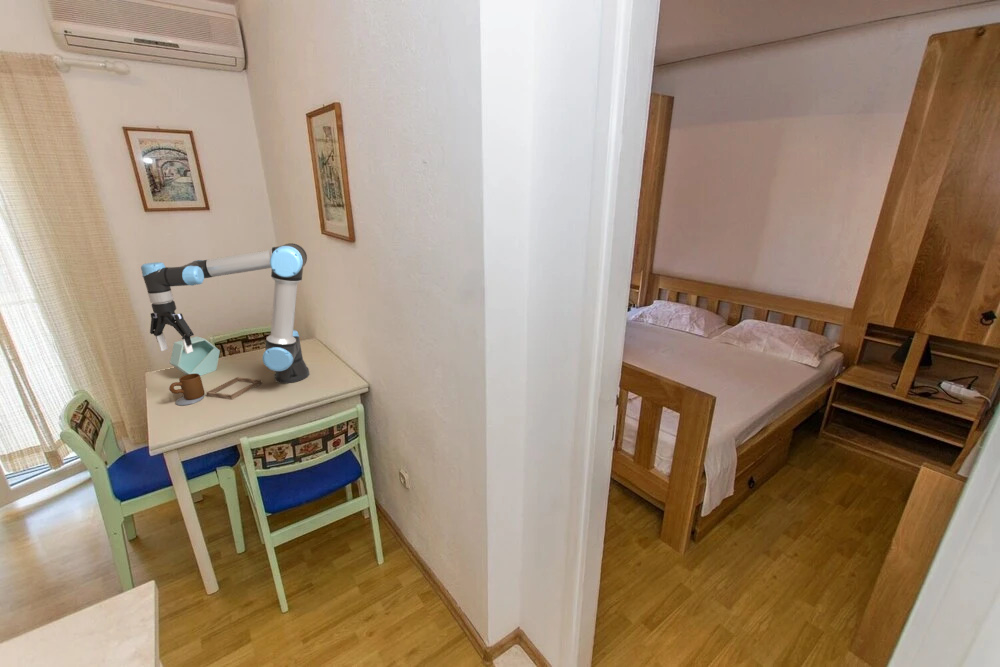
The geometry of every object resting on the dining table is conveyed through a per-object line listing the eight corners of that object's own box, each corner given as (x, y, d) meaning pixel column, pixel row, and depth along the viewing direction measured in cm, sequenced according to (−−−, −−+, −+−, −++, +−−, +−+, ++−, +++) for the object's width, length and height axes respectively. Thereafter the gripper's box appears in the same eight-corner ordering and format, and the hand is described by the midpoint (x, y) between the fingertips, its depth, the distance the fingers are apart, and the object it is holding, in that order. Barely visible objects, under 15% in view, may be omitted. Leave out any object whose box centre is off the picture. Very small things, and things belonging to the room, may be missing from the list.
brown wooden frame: (261, 383, 203) (260, 379, 202) (232, 399, 188) (231, 395, 187) (238, 380, 206) (237, 377, 206) (207, 396, 191) (206, 392, 190)
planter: (203, 384, 214) (168, 359, 199) (195, 380, 218) (159, 356, 203) (228, 357, 222) (196, 331, 207) (219, 354, 226) (187, 329, 211)
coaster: (209, 396, 191) (208, 394, 191) (188, 406, 182) (188, 405, 182) (191, 393, 194) (191, 392, 194) (170, 404, 185) (169, 402, 184)
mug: (178, 406, 181) (172, 386, 178) (169, 402, 185) (163, 382, 182) (208, 394, 191) (203, 375, 188) (199, 391, 195) (194, 372, 192)
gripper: (195, 300, 174) (208, 350, 181) (148, 298, 180) (162, 345, 187) (177, 305, 167) (192, 356, 174) (129, 302, 174) (145, 352, 180)
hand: (176, 351), depth 181 cm, fingers open, 13 cm apart
